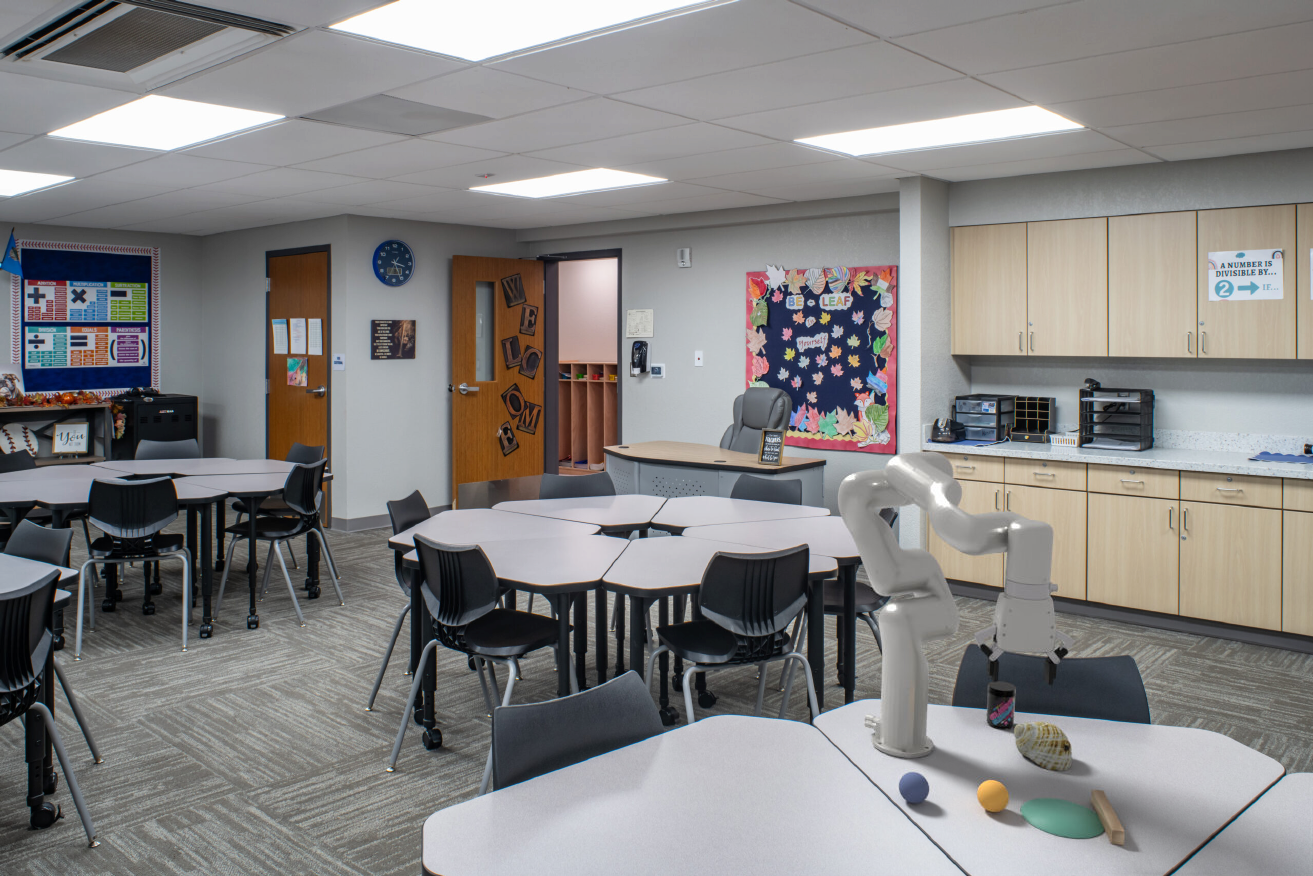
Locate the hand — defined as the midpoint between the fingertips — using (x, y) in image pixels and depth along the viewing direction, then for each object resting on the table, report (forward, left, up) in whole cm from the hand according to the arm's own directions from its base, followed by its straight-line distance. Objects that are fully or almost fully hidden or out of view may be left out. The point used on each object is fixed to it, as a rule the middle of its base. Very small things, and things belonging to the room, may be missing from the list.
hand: (1020, 681), depth 172 cm
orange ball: (-3, -3, -22) cm, 22 cm away
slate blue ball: (-15, -10, -22) cm, 28 cm away
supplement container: (-17, +36, -25) cm, 47 cm away
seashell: (-4, +25, -25) cm, 35 cm away
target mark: (+8, +3, -24) cm, 26 cm away
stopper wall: (+14, +6, -24) cm, 29 cm away
